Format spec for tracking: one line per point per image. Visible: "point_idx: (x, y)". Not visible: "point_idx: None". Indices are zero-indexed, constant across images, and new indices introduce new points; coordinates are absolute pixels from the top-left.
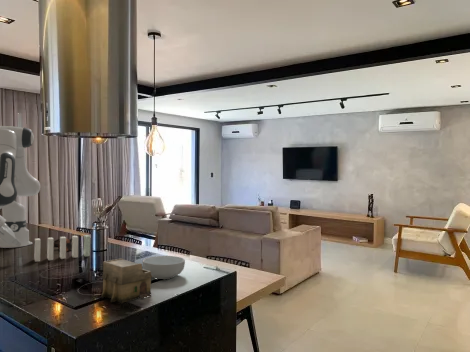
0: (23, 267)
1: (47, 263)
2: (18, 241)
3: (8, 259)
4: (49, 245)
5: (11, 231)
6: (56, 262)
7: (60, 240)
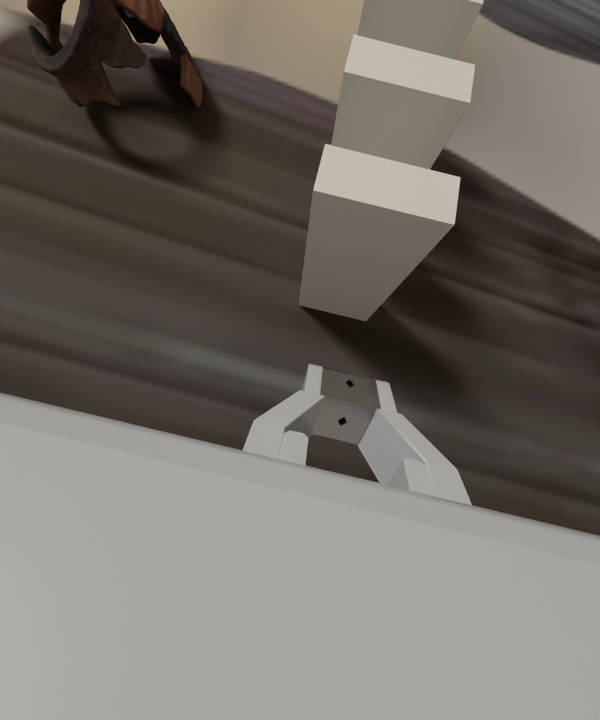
0: (486, 424)
1: (460, 288)
2: (401, 418)
3: (169, 429)
4: (428, 167)
5: (67, 535)
6: (464, 245)
7: (383, 36)
